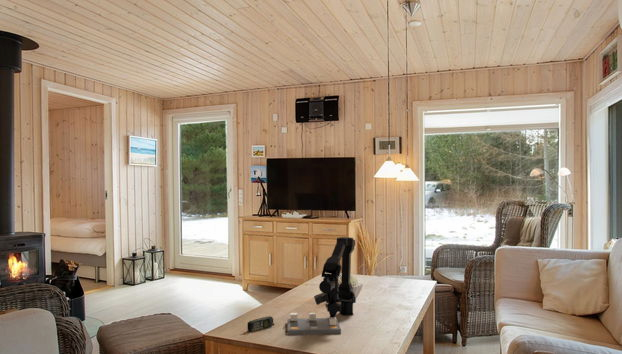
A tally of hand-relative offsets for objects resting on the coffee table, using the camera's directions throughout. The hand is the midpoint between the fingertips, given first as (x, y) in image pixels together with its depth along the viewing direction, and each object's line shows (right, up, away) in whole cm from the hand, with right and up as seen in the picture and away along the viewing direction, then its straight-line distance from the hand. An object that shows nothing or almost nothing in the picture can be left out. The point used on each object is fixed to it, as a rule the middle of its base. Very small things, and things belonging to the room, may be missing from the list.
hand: (331, 320), depth 202 cm
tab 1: (-18, -1, +4) cm, 19 cm away
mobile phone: (-33, -3, -2) cm, 33 cm away
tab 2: (0, -1, -3) cm, 3 cm away
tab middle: (-9, -1, +4) cm, 10 cm away
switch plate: (-9, -3, -1) cm, 9 cm away
